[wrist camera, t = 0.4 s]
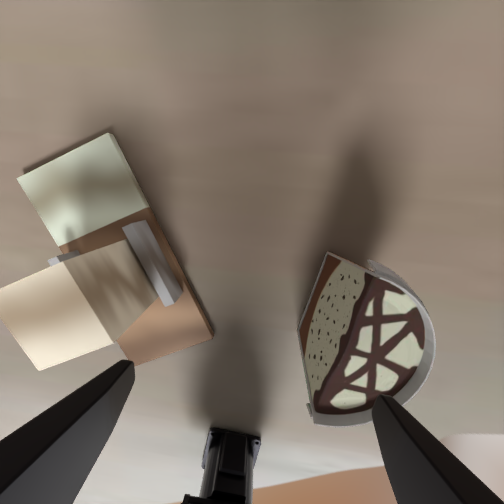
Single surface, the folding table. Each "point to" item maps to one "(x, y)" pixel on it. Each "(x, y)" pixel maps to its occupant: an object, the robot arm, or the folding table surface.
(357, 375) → the food container
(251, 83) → the folding table surface
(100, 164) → the chute
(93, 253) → the block
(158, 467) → the folding table surface
